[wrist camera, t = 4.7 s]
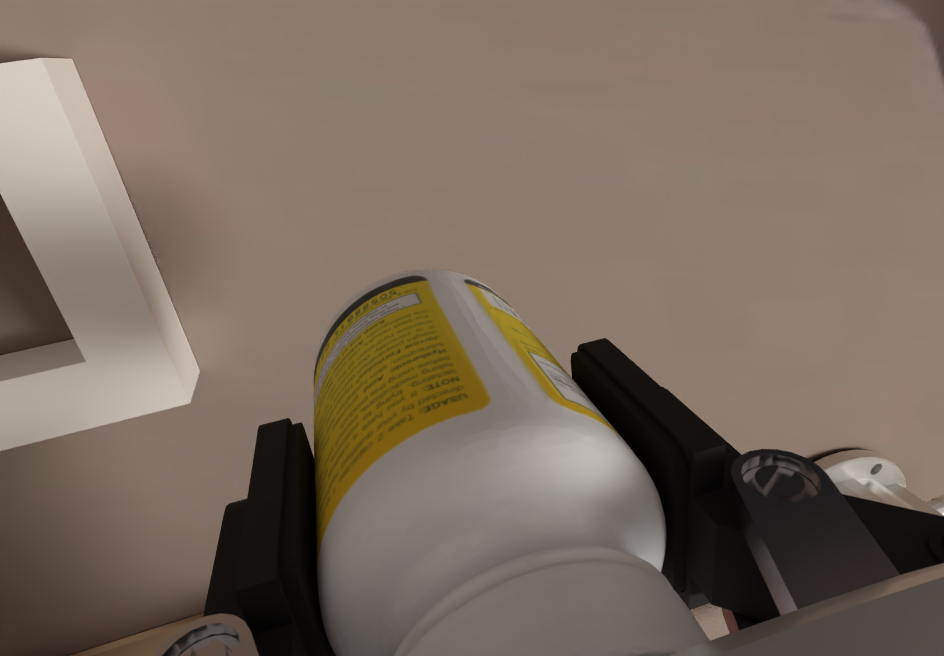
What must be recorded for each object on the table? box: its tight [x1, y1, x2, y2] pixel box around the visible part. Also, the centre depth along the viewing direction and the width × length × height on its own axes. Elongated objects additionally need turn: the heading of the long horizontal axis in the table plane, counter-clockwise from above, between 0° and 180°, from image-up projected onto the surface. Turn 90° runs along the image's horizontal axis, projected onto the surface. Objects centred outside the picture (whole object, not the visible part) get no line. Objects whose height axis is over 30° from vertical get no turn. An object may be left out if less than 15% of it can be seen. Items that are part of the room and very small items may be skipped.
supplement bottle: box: [314, 269, 710, 656], centre depth 10 cm, size 5×5×10 cm
